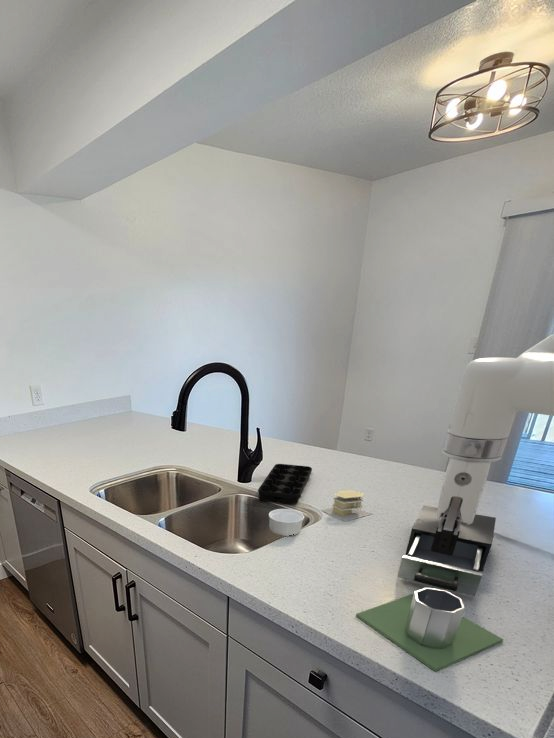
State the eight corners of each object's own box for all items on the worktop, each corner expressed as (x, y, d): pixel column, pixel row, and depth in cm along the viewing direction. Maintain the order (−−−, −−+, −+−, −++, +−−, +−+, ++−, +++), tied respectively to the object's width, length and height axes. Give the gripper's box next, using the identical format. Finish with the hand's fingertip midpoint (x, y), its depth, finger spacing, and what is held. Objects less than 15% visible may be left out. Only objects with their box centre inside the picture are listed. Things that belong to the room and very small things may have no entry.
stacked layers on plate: (345, 521, 118) (348, 502, 115) (321, 510, 125) (323, 492, 122) (372, 513, 121) (375, 495, 118) (347, 503, 128) (350, 486, 126)
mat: (502, 642, 73) (503, 639, 73) (435, 671, 68) (436, 669, 68) (417, 594, 86) (418, 591, 86) (355, 616, 81) (356, 613, 81)
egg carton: (310, 474, 153) (311, 463, 151) (318, 506, 127) (320, 494, 126) (258, 473, 157) (259, 463, 156) (257, 504, 131) (257, 492, 130)
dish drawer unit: (482, 571, 92) (492, 544, 89) (405, 554, 100) (411, 528, 97) (487, 542, 103) (496, 517, 100) (417, 529, 111) (423, 505, 108)
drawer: (473, 608, 80) (480, 586, 78) (392, 587, 87) (397, 566, 85) (480, 564, 93) (487, 545, 91) (410, 549, 101) (414, 530, 98)
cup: (461, 641, 73) (473, 604, 69) (432, 653, 71) (443, 616, 67) (424, 619, 78) (434, 584, 75) (396, 629, 76) (405, 594, 73)
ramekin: (292, 521, 120) (294, 506, 118) (308, 535, 112) (310, 519, 110) (262, 525, 118) (263, 510, 116) (276, 539, 111) (277, 524, 109)
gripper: (502, 462, 59) (463, 577, 67) (506, 437, 69) (472, 540, 77) (437, 454, 63) (408, 564, 71) (450, 432, 73) (424, 530, 81)
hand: (441, 551), depth 74 cm, fingers closed
